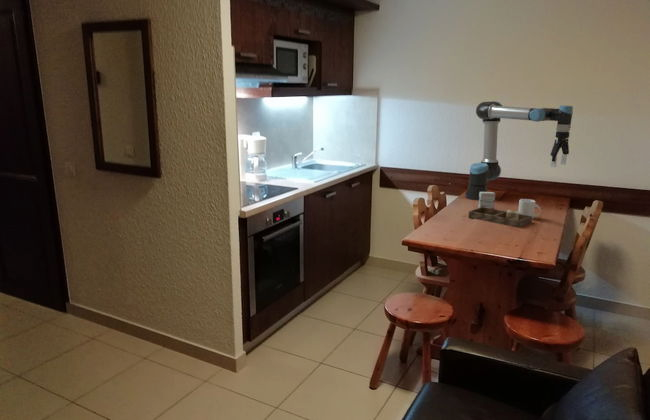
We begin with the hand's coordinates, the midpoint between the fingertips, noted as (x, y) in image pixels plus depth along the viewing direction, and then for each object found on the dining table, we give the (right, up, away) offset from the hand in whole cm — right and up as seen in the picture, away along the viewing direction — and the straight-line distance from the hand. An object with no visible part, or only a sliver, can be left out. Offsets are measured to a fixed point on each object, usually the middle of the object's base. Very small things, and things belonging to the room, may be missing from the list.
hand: (558, 165), depth 300 cm
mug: (-28, -33, -21) cm, 48 cm away
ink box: (-47, -29, -4) cm, 55 cm away
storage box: (-46, -34, -25) cm, 62 cm away
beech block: (-41, -35, -30) cm, 61 cm away
